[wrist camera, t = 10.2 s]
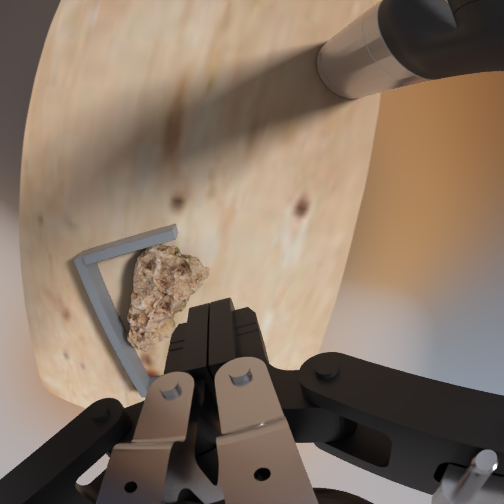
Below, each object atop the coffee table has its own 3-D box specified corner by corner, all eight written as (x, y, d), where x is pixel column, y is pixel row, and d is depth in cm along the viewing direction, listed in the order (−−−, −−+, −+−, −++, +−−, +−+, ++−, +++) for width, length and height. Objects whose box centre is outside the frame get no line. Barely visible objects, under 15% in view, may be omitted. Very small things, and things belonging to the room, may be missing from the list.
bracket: (175, 223, 40) (172, 230, 37) (224, 368, 49) (225, 382, 46) (82, 251, 40) (73, 259, 37) (144, 383, 48) (141, 397, 45)
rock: (189, 360, 44) (123, 354, 40) (184, 339, 49) (124, 332, 45) (217, 262, 39) (138, 249, 35) (209, 246, 43) (138, 233, 39)
